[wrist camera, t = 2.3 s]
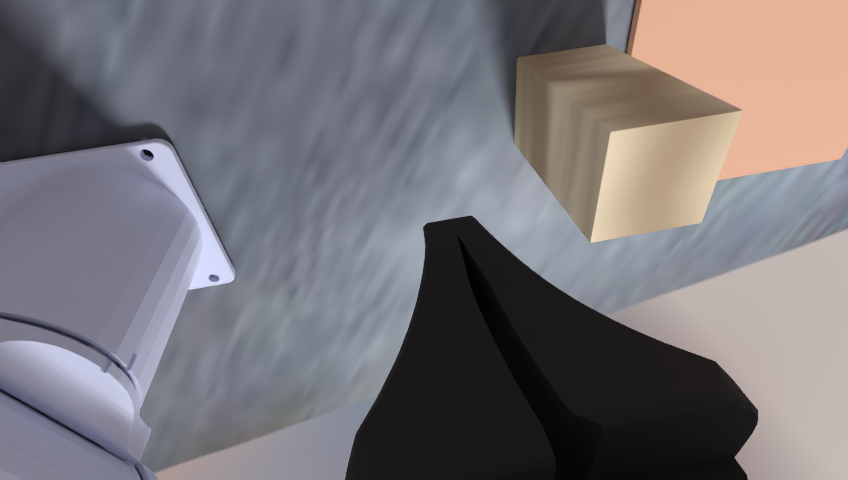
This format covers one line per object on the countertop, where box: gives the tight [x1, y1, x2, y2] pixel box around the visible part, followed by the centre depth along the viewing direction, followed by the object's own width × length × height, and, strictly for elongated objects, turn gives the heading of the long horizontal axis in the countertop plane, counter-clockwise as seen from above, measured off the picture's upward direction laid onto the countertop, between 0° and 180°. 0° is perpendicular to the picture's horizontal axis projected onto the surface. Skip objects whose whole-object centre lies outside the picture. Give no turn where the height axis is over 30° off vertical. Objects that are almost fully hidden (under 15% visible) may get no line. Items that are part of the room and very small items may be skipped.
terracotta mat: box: [626, 0, 848, 180], centre depth 20 cm, size 14×12×1 cm
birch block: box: [514, 44, 743, 243], centre depth 17 cm, size 4×4×8 cm
